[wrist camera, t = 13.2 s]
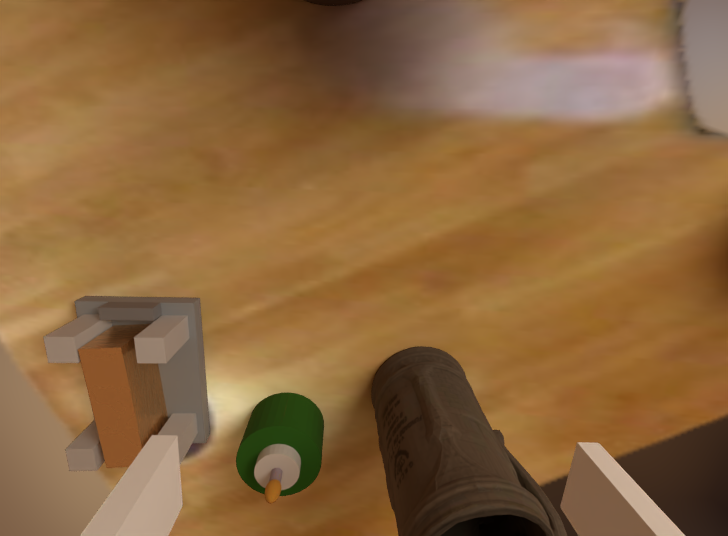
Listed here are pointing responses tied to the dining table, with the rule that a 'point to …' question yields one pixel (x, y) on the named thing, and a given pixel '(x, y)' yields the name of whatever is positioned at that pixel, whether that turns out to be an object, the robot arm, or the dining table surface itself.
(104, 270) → the dining table surface
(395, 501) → the beer stein
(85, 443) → the jig
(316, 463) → the candle
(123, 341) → the block
